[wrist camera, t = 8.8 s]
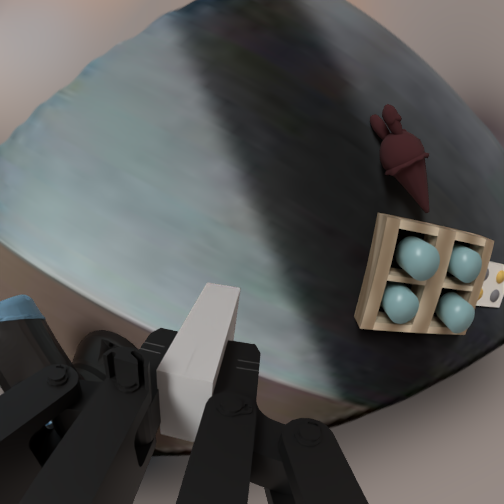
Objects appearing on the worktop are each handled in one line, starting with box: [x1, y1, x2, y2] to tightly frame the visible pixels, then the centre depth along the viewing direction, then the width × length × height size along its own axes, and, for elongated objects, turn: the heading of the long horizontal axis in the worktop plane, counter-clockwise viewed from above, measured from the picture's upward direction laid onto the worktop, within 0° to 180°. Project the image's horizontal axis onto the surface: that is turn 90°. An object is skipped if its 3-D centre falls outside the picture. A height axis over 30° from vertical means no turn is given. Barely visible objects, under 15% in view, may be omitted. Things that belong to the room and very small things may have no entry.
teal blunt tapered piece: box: [447, 243, 482, 283], centre depth 37 cm, size 5×5×5 cm
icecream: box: [370, 104, 429, 213], centre depth 34 cm, size 7×7×15 cm
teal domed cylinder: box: [436, 292, 474, 333], centre depth 37 cm, size 5×5×5 cm
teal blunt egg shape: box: [395, 236, 440, 281], centre depth 36 cm, size 5×5×5 cm
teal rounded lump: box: [380, 281, 419, 324], centre depth 40 cm, size 5×5×5 cm
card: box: [476, 261, 504, 308], centre depth 40 cm, size 10×8×1 cm
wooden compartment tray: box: [354, 213, 494, 335], centre depth 39 cm, size 20×16×4 cm
